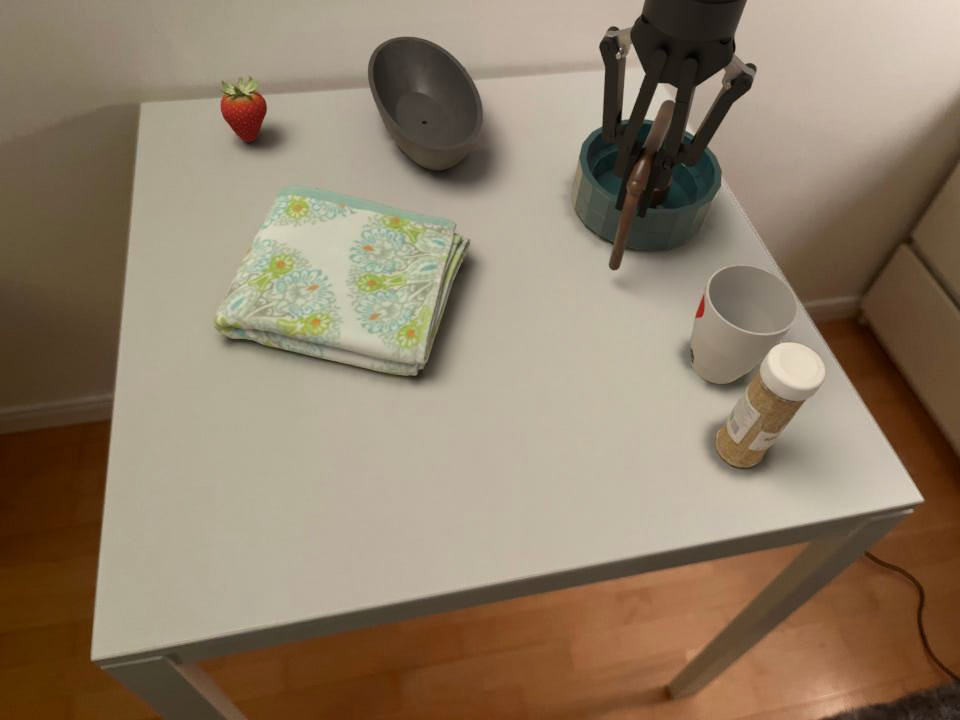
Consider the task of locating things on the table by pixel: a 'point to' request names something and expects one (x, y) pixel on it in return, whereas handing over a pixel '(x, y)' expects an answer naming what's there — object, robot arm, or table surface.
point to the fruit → (243, 108)
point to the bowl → (425, 101)
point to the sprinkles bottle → (770, 403)
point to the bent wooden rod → (642, 181)
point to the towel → (344, 281)
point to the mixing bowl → (660, 224)
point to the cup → (739, 321)
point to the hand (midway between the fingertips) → (632, 204)
